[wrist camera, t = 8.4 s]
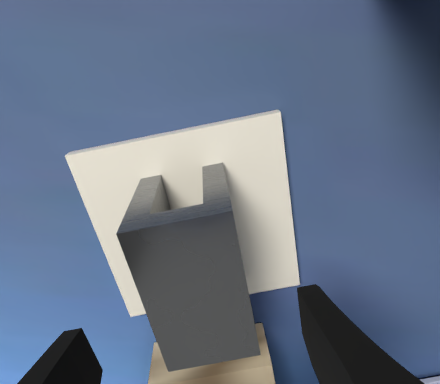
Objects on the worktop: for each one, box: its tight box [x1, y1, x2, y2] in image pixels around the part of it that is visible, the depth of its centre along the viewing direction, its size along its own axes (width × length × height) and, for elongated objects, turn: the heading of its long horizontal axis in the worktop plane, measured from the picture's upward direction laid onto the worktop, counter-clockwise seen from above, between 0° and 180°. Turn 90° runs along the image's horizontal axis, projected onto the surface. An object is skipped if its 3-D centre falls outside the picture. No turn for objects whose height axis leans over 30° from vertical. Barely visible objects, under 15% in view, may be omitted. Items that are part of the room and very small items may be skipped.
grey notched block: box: [116, 163, 261, 372], centre depth 15 cm, size 4×7×5 cm, turn 11°
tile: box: [65, 110, 300, 317], centre depth 17 cm, size 10×10×1 cm
